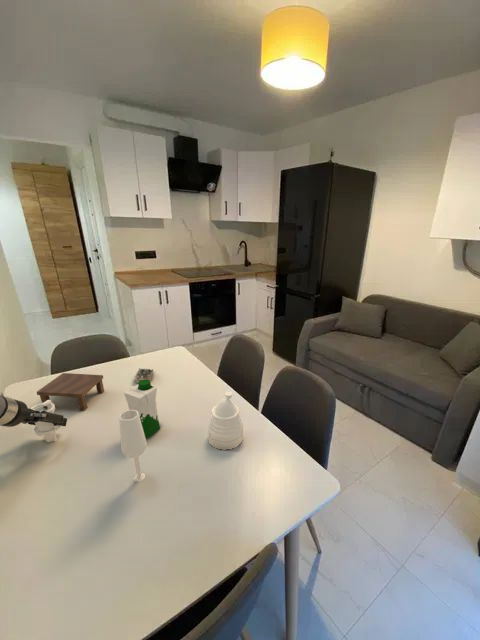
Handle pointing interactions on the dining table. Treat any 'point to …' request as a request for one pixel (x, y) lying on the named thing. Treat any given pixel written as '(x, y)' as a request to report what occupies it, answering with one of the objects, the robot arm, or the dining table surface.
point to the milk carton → (144, 405)
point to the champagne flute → (132, 438)
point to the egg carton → (144, 375)
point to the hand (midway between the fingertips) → (54, 422)
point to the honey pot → (225, 425)
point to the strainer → (44, 427)
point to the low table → (72, 387)
